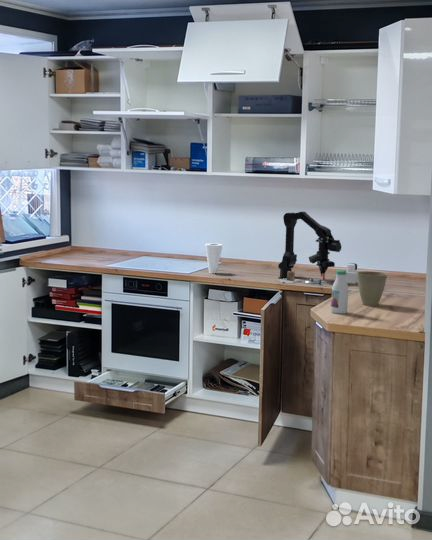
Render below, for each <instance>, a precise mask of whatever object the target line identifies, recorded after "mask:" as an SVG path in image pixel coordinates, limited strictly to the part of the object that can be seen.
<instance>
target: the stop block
mask: <svg viewBox="0 0 432 540" xmlns="http://www.w3.org/2000/svg"><path fill="white" fill-rule="evenodd" d="M295 277H296V272H295V271H288V272H287V281H295V279H296V278H295Z"/></svg>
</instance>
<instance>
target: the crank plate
mask: <svg viewBox="0 0 432 540" xmlns="http://www.w3.org/2000/svg"><path fill="white" fill-rule="evenodd" d="M318 279H319V283H318V284H308V283H304V280H302V282H295V283H297V284H303V285H304V284H305V285H308V286H309V285H310V286H314V287H315V286H316V287H323V286H327V285H333V283H331V282H324V281H321V279H322V278H318Z"/></svg>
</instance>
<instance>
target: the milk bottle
mask: <svg viewBox="0 0 432 540" xmlns="http://www.w3.org/2000/svg"><path fill="white" fill-rule="evenodd" d="M346 271H347V270H341V269H340V270H339V269H337V270H336V272H335V275H336V278H335V280H334V282H333V283H332V288H331V301H330V312H331V313H333V314H338V315H339V314H342V315H343V314H345V315H346V314H347V313H348V309H349V308H348V307H349V306H348V305H349V286H348V283H347V282H346V278H345V276H346Z"/></svg>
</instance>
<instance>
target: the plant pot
mask: <svg viewBox="0 0 432 540" xmlns="http://www.w3.org/2000/svg"><path fill="white" fill-rule="evenodd" d="M387 277H388V274H387V273H386V272H381V271H358V272H357V280H358V282H357V287H358V291H359V295H360V299H361V302H362V305H363V306H367V307H368V306H369V307H376V306H379V304H380V300H381V299H382V296H383V293H384V290H385V286H386V283H387Z"/></svg>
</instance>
